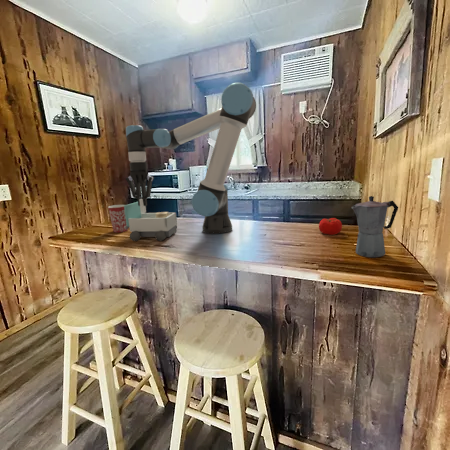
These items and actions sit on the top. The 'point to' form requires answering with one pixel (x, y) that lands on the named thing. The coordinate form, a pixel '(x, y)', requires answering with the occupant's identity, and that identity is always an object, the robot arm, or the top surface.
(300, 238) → the top surface
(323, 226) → the tomato
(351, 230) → the top surface
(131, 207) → the tailgate
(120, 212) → the mug
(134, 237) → the trailer
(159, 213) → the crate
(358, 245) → the moka pot
